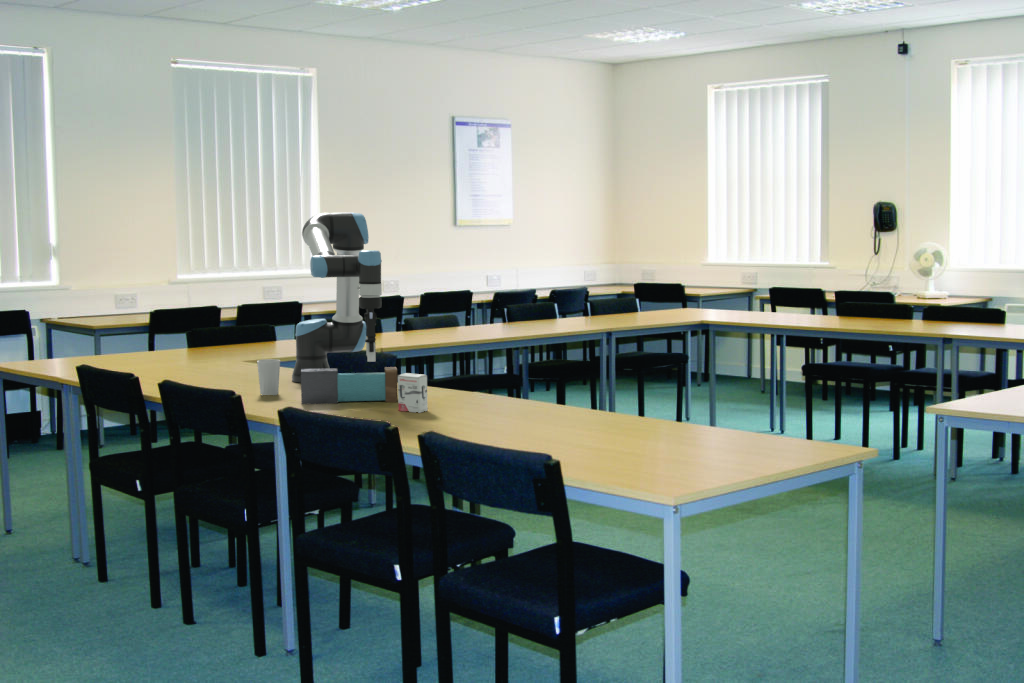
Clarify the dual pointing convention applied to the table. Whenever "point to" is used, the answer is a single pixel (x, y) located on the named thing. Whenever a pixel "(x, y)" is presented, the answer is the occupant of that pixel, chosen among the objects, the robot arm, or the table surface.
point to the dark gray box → (319, 386)
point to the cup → (269, 376)
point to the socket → (391, 384)
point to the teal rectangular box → (361, 386)
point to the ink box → (412, 392)
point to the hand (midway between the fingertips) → (370, 358)
